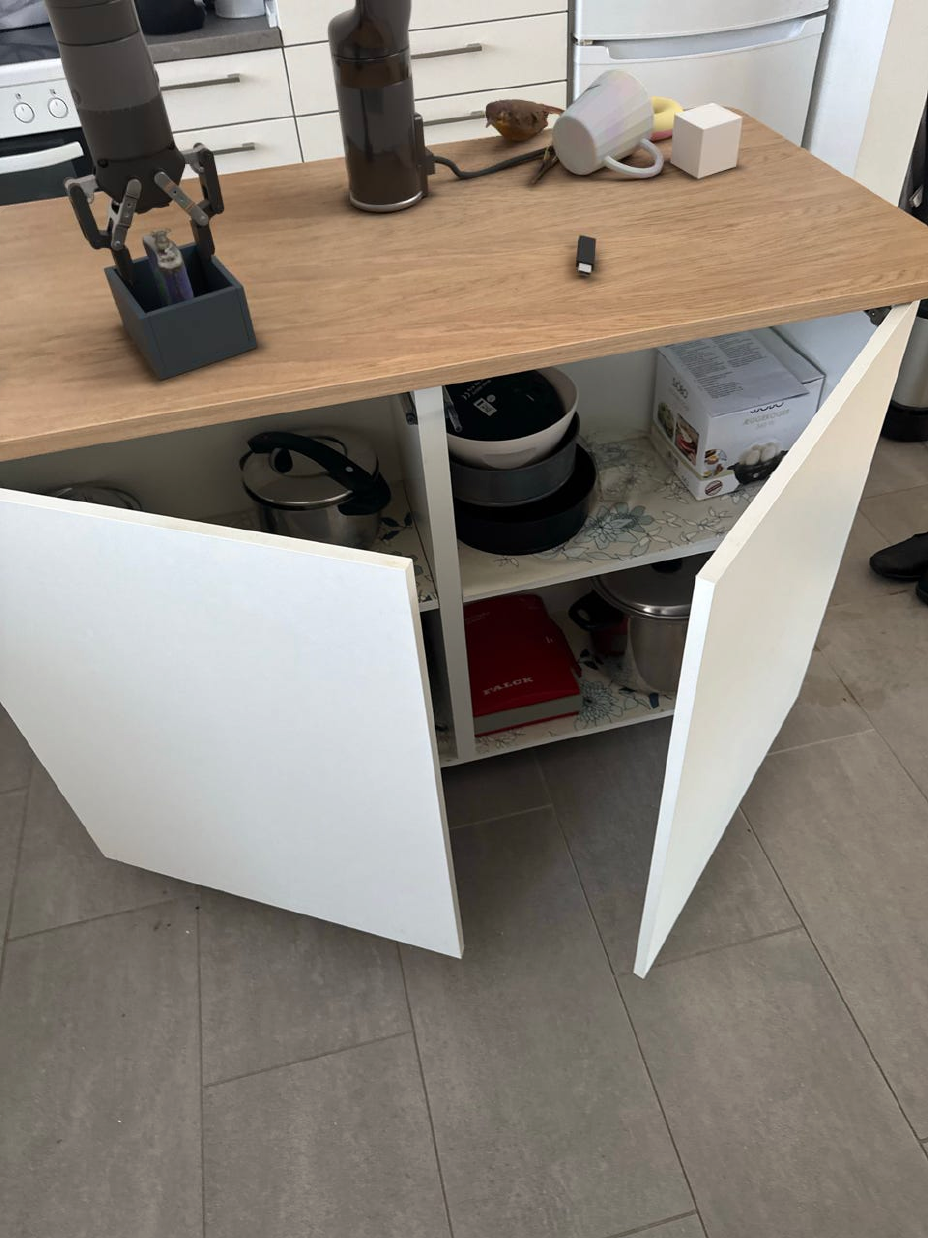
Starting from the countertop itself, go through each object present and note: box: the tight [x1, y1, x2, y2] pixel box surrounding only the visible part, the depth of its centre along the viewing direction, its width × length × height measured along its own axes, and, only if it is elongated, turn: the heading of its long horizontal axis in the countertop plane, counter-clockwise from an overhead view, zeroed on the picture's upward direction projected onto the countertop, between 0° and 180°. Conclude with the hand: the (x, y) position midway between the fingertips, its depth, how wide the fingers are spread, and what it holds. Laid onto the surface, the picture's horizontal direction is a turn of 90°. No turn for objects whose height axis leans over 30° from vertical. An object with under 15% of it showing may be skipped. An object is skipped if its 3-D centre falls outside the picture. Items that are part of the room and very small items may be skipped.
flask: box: [141, 227, 194, 307], centre depth 95 cm, size 9×3×11 cm, turn 27°
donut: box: [649, 96, 685, 142], centre depth 130 cm, size 10×5×9 cm
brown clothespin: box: [532, 139, 559, 184], centre depth 125 cm, size 12×3×1 cm, turn 156°
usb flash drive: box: [575, 234, 597, 277], centre depth 106 cm, size 8×2×1 cm, turn 173°
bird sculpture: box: [484, 98, 566, 142], centre depth 131 cm, size 7×25×5 cm, turn 150°
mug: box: [551, 68, 665, 179], centre depth 121 cm, size 10×15×10 cm
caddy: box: [103, 241, 259, 381], centre depth 97 cm, size 11×13×7 cm
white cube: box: [669, 102, 744, 179], centre depth 120 cm, size 6×6×6 cm
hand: (169, 270), depth 94 cm, fingers open, 7 cm apart
